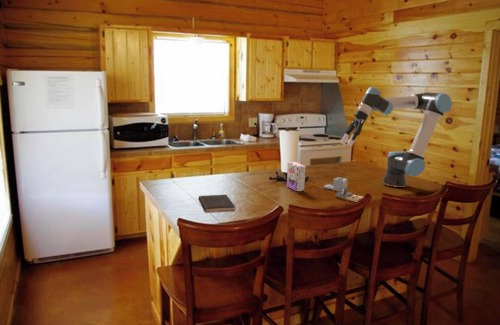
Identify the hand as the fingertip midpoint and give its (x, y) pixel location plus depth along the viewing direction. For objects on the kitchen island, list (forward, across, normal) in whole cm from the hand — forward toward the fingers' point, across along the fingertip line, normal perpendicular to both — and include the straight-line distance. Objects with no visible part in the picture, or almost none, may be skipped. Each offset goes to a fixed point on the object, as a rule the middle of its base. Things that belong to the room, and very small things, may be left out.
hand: (345, 144), depth 237 cm
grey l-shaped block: (+27, -14, +12) cm, 33 cm away
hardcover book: (+64, +15, -53) cm, 84 cm away
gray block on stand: (+28, +3, +13) cm, 32 cm away
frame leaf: (+27, +8, +18) cm, 33 cm away
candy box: (+38, -15, -10) cm, 43 cm away
